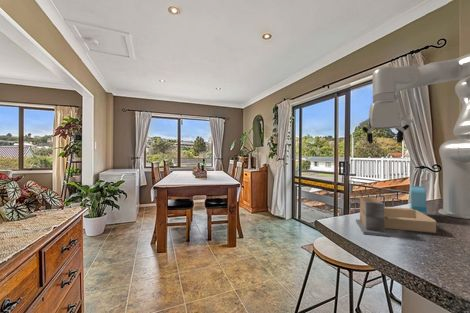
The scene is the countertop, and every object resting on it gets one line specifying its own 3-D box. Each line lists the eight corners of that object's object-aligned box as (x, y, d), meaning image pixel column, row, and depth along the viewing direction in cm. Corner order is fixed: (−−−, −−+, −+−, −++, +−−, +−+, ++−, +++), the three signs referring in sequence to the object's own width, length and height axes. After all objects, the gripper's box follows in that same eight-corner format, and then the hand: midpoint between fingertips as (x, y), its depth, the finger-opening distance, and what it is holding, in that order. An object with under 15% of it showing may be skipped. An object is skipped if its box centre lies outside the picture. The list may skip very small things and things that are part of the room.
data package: (427, 220, 80) (425, 189, 81) (411, 218, 83) (410, 188, 84) (425, 214, 90) (424, 186, 90) (411, 212, 93) (410, 185, 93)
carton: (414, 218, 83) (414, 208, 83) (439, 234, 66) (439, 222, 66) (372, 215, 88) (372, 206, 88) (386, 229, 71) (385, 218, 72)
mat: (377, 223, 78) (377, 221, 78) (389, 236, 65) (389, 234, 65) (355, 221, 81) (355, 219, 81) (363, 234, 68) (363, 231, 68)
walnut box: (375, 222, 77) (375, 197, 77) (384, 231, 68) (383, 203, 68) (360, 221, 79) (359, 197, 79) (366, 229, 69) (366, 202, 69)
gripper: (406, 99, 84) (407, 142, 84) (357, 104, 90) (358, 144, 90) (415, 94, 77) (415, 141, 77) (361, 100, 83) (361, 143, 83)
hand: (384, 143), depth 83 cm, fingers open, 9 cm apart
